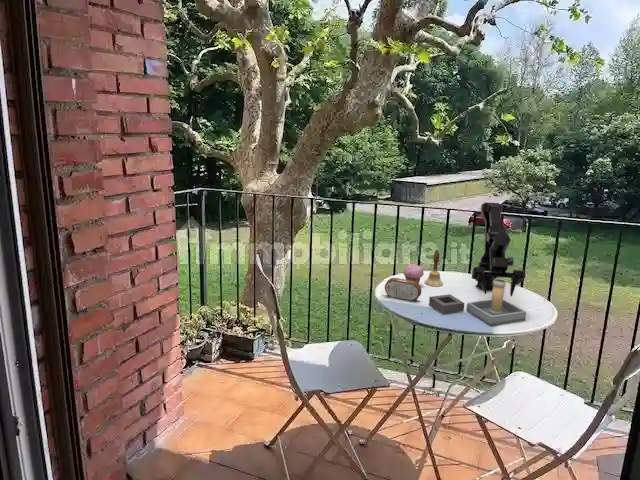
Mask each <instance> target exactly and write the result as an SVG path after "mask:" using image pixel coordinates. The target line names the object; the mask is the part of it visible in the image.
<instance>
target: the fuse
mask: <svg viewBox="0 0 640 480" xmlns="http://www.w3.org/2000/svg"><path fill="white" fill-rule="evenodd" d="M506 283H507V282H506V280H503V279H496V278H495V280H493V290H491V291H492V294H491V299H490V300H491V308H490V312H489V313H490V314H492V315H500V314H502V303H503V300H504V294H505V287H506Z"/></svg>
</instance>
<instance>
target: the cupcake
mask: <svg viewBox="0 0 640 480" xmlns="http://www.w3.org/2000/svg"><path fill="white" fill-rule="evenodd" d="M403 275H404V277H405V280H411V281H415V282H416V283H418V284H419V285H420V280H421V278H422V277H424V275H425V274H424V268H423V267H422V266H420V265H418V264H413V263H412V264H411V263H410V264H408V265H407V266H406V267H405V268H404V270H403Z"/></svg>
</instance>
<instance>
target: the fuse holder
mask: <svg viewBox="0 0 640 480" xmlns="http://www.w3.org/2000/svg"><path fill="white" fill-rule="evenodd" d="M428 305H429V306H430V307H432V308H433V309H434V310H436V311H437V312H439V313H440V314H442V315H446V314H447V315H448V314H455V313H460V312H465V302H464V301H462V300H460V299H459V298H457V297H455V296H454V295H452V294H442V295H441V294H440V295H433V296H429V300H428Z"/></svg>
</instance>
